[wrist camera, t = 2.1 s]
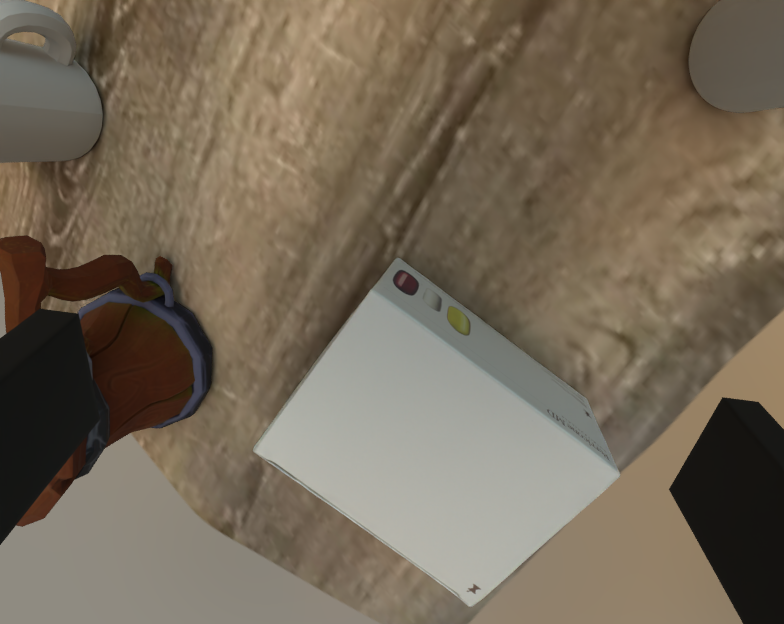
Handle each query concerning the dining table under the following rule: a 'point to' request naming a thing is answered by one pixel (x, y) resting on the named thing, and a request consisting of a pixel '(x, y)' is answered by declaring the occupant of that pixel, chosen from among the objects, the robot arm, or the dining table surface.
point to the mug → (114, 347)
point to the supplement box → (440, 436)
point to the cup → (43, 89)
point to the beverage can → (740, 55)
